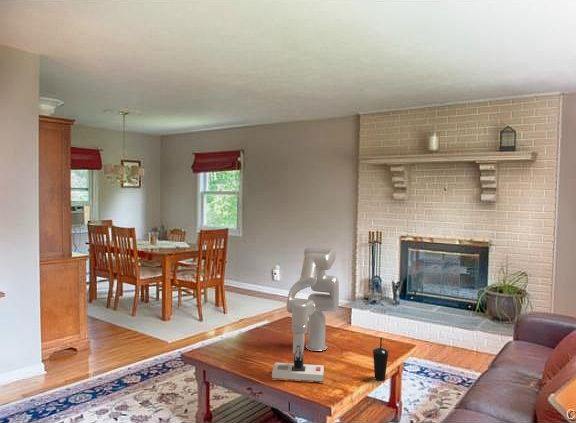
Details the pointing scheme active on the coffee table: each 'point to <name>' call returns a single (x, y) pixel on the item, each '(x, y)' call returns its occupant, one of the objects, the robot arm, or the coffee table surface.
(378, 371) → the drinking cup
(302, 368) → the plug
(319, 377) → the power strip
